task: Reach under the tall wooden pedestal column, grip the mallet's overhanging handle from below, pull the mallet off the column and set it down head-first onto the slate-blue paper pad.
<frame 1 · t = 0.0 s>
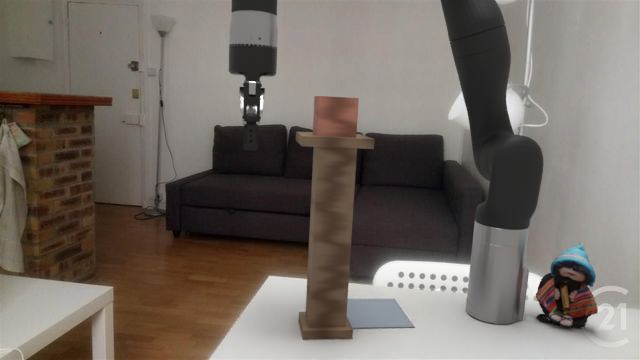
hand: (250, 147, 80), 29 cm above the table, tool pointing down, fingers open, 8 cm apart
wooden pedestal column: (322, 321, 85), on the table
pad: (374, 312, 89), on the table
figurine: (562, 326, 88), on the table
mallet: (333, 135, 78), point 32 cm above the table, touching wooden pedestal column
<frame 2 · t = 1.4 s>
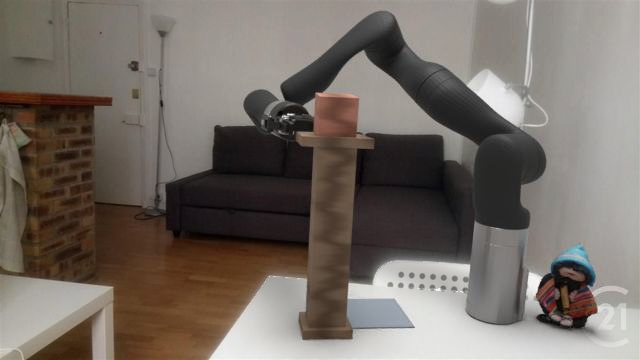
hand: (314, 130, 86), 32 cm above the table, tool horizontal, fingers open, 8 cm apart
mallet: (334, 133, 79), point 32 cm above the table, tilted 6°, touching gripper, wooden pedestal column
everything else where it was.
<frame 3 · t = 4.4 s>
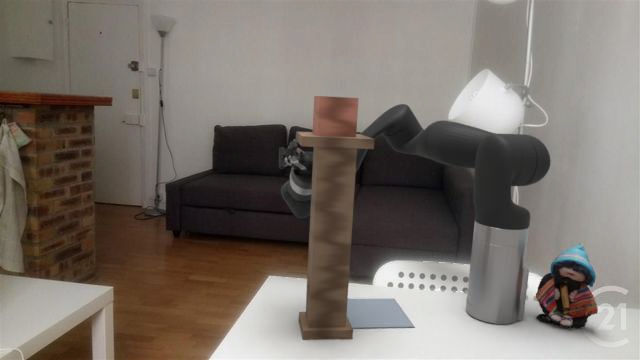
hand: (317, 144, 97), 29 cm above the table, tool pointing upward, fingers open, 8 cm apart
mallet: (333, 135, 79), point 32 cm above the table, touching wooden pedestal column
everything else where it was.
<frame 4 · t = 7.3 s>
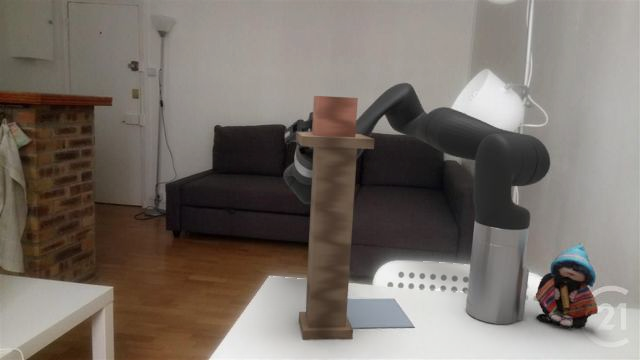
hand: (326, 114, 86), 35 cm above the table, tool pointing upward, fingers closed on mallet, 3 cm apart
mallet: (333, 135, 79), point 32 cm above the table, touching gripper, wooden pedestal column
everything else where it was.
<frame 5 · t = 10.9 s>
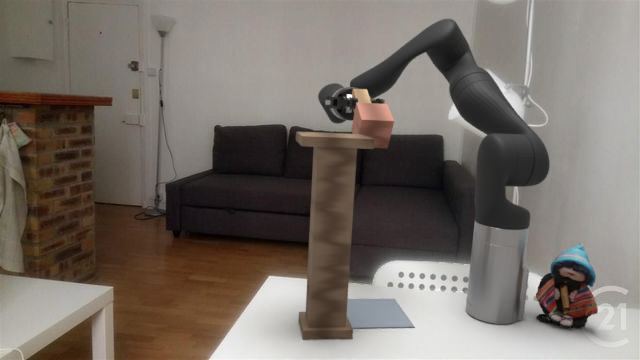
hand: (365, 104, 99), 37 cm above the table, tool horizontal, fingers closed on mallet, 3 cm apart
mallet: (369, 138, 94), point 31 cm above the table, tilted 30°, touching gripper
everything else where it was.
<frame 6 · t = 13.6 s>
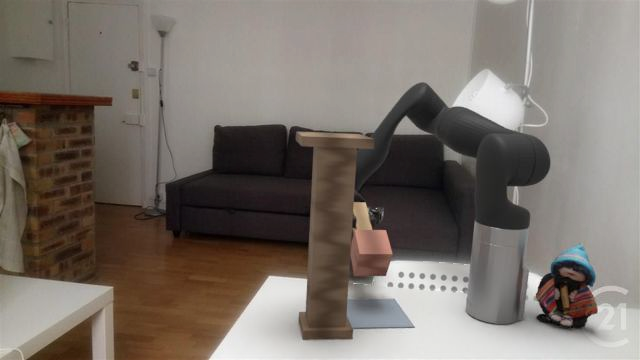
hand: (363, 223, 98), 14 cm above the table, tool horizontal, fingers closed on mallet, 3 cm apart
mallet: (367, 263, 93), point 7 cm above the table, tilted 30°, touching gripper
everything else where it was.
when the fingers open (9 cm above the table, at t = 15.8 s): mallet drops 3 cm, resting on pad.
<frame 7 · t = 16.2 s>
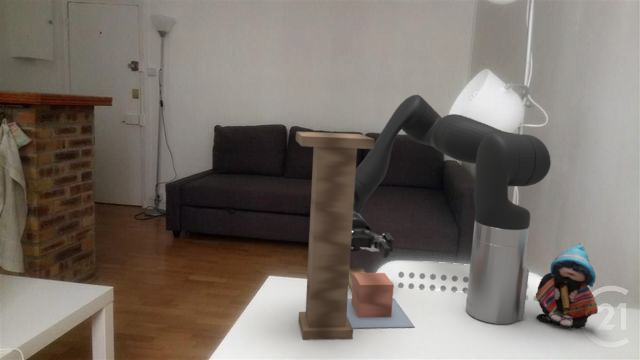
hand: (367, 252, 93), 10 cm above the table, tool horizontal, fingers open, 6 cm apart
mallet: (370, 310, 90), resting on pad
everything else where it was.
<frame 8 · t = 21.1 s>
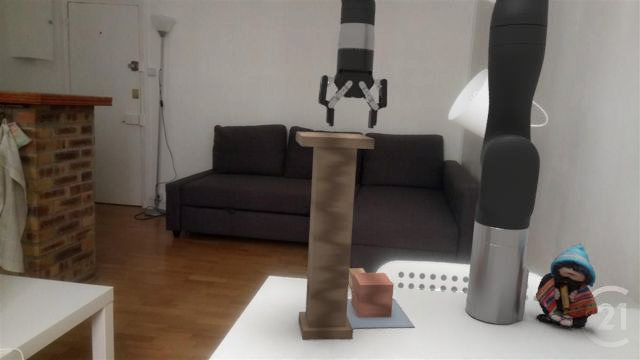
hand: (351, 127, 104), 32 cm above the table, tool pointing down, fingers open, 8 cm apart
nothing on the table moved.
at the end: mallet inside the target area (0.8 cm from its centre), on the table; mallet tilted 0°; the gripper is holding nothing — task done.
